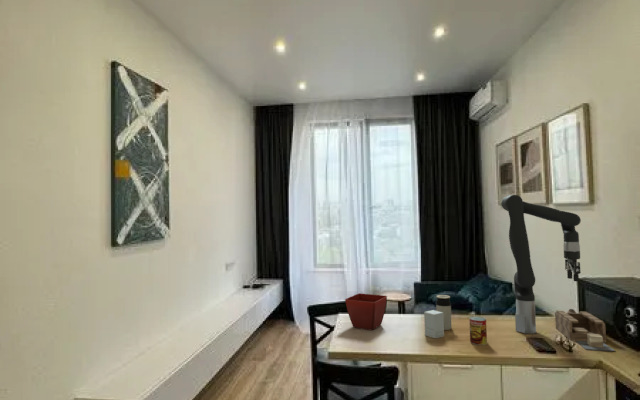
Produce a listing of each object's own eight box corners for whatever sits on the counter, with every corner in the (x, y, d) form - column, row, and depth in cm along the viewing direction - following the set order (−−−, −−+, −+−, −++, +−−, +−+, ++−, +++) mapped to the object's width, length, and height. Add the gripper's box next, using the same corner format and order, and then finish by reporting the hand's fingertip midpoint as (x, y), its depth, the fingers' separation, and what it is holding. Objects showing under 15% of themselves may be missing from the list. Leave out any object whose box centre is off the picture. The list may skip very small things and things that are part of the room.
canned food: (467, 342, 195) (466, 318, 196) (475, 338, 200) (474, 315, 201) (481, 346, 189) (480, 321, 189) (490, 342, 194) (489, 318, 194)
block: (603, 347, 183) (602, 336, 183) (591, 346, 184) (590, 336, 185) (599, 344, 187) (598, 334, 187) (587, 344, 188) (587, 333, 188)
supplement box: (444, 336, 205) (443, 312, 206) (434, 338, 201) (434, 314, 202) (434, 332, 211) (433, 309, 212) (424, 335, 208) (423, 311, 208)
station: (620, 352, 178) (619, 330, 178) (581, 349, 182) (580, 328, 182) (588, 330, 211) (587, 311, 212) (555, 328, 215) (555, 310, 216)
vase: (581, 326, 218) (581, 311, 218) (568, 326, 219) (567, 310, 220) (576, 323, 225) (575, 308, 225) (563, 322, 226) (562, 307, 226)
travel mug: (453, 330, 216) (452, 297, 217) (439, 330, 216) (438, 297, 217) (449, 325, 224) (448, 294, 225) (435, 326, 224) (434, 294, 225)
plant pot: (344, 328, 223) (344, 298, 224) (359, 320, 239) (358, 293, 240) (375, 333, 213) (374, 302, 214) (388, 324, 229) (387, 295, 230)
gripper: (559, 248, 218) (560, 277, 217) (568, 251, 204) (570, 282, 203) (574, 248, 216) (575, 277, 215) (585, 251, 202) (586, 282, 202)
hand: (573, 279), depth 209 cm, fingers open, 8 cm apart
